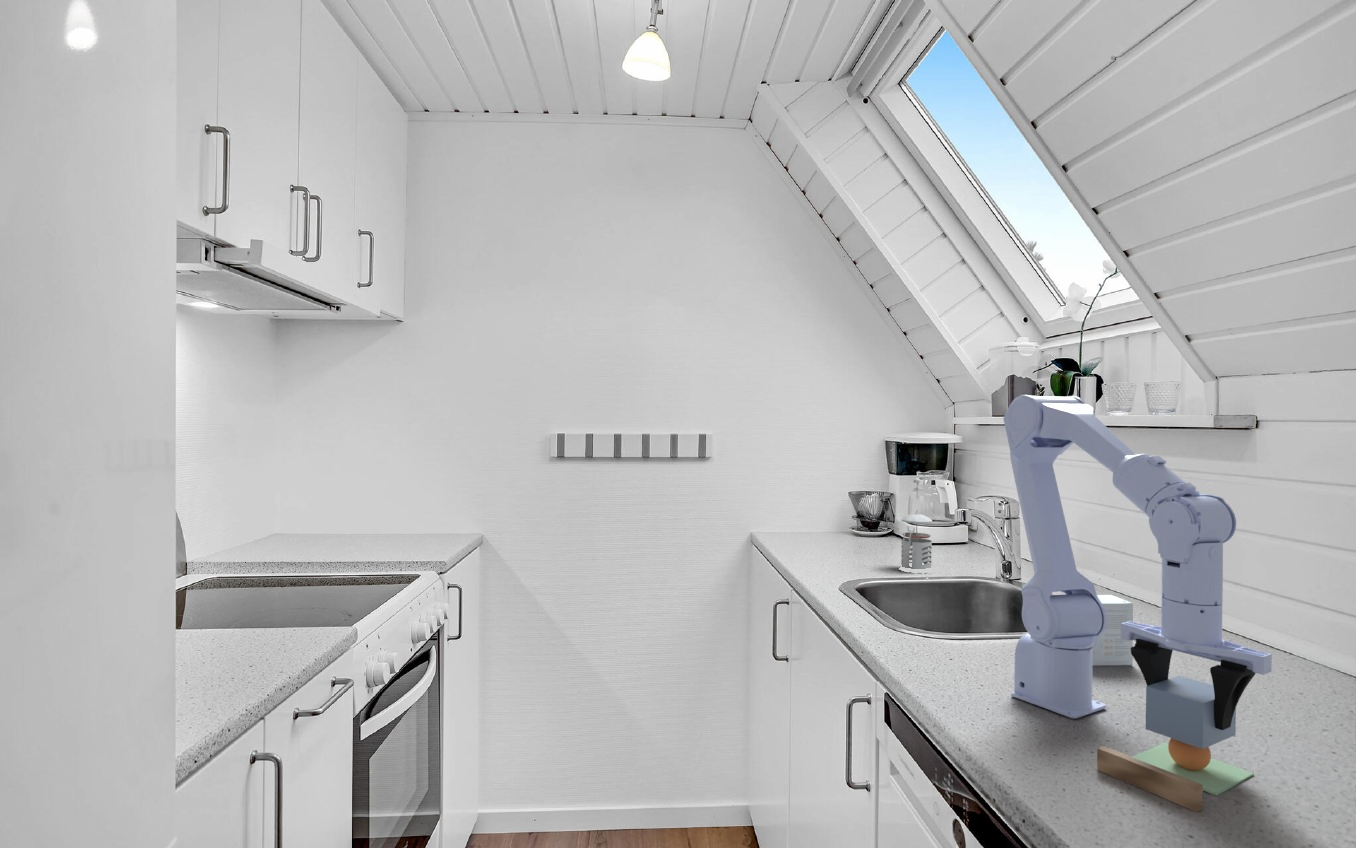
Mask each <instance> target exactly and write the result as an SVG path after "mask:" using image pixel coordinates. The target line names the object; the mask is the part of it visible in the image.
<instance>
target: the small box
mask: <svg viewBox="0 0 1356 848" xmlns="http://www.w3.org/2000/svg"><path fill="white" fill-rule="evenodd" d="M1097 596H1098V598H1099V600H1100V601H1101V603H1102V604H1103V606H1104V608H1105V611H1106V614H1107V626H1106V629H1105V631H1104V632H1103V634H1102V635H1100V636H1098V637H1097V644H1094V645H1093V666H1094V667H1095V666H1099V667H1100V666H1102V667H1103V666H1108V667H1109V666H1111V667H1112V666H1133V664H1134V661H1133V659H1134V657H1133V656H1132V654H1131V647H1134V646H1133V645H1134V644H1133V643H1134V642H1133V641H1134V640H1131V641H1129V640H1125V639H1121V623H1124V622H1128V621H1131V622H1134V604H1133V602H1131V601H1128V600H1126V599H1123V598H1120V597H1118V596H1115V595H1114V594H1113V595H1112V594H1097Z"/></svg>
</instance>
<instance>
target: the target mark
mask: <svg viewBox="0 0 1356 848" xmlns="http://www.w3.org/2000/svg"><path fill="white" fill-rule="evenodd" d="M1168 744H1169V741H1168V742H1167V741H1165V742H1162V743H1160V744H1158V745H1156V746H1154V747H1151V748H1149V749H1147V750H1145V751H1142V752H1139V753H1137V754H1135V755H1133V756H1132V757H1133V758H1136V759H1138V760H1141V761H1143V762H1146V763H1148V764H1151V765H1154V766H1156V767H1159V768H1161V769H1164V770H1166V771H1169V772H1171V773H1174V774H1177V775H1179V776H1182V777H1184V778H1187V779H1189V780H1192V781H1194V782H1197V783H1200V784H1202V785H1203V791H1204V792H1206V793H1209V794H1211V795H1214V796H1219V795H1220V794H1222V793H1223V792H1226V791H1228V790H1229V789H1231V788H1233V787H1234V786H1236V785H1238V784H1240V783H1242V782H1244V781H1245V780H1247V779H1249V778H1251V777H1253V776H1254V775H1255V773H1253V772H1251V771H1249V770H1246V769H1243V768H1240V767H1237V766H1234V765H1231V764H1228V763H1226V762H1223V761H1220V760H1219V759H1215V758H1212V757H1211V760H1210V763H1209V764H1208V765H1207V766H1206V767H1205V768H1204V769H1201V770H1188V769H1185V768H1183V767H1181V766H1180V765H1178V764H1177V763H1176V762H1175V761H1174V760H1173V759H1172V757H1171V755H1170V753H1169V750H1168ZM1203 791H1202V792H1203Z"/></svg>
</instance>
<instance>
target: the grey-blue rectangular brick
mask: <svg viewBox="0 0 1356 848" xmlns="http://www.w3.org/2000/svg"><path fill="white" fill-rule="evenodd" d="M1145 688H1146V690H1145V730H1147V731H1151V732H1153V733H1156V734H1159V735H1162V736H1165V737H1166V738H1170V739H1171V738H1172V739H1175V740H1178V741H1181V742H1184V743H1187V744H1189V745H1192V746H1195V747H1198V748H1201V749H1204V748H1207V747H1209V748H1210V747H1211V746H1213V745H1215V744H1218V743H1220V742H1222V741H1225V740H1226V739H1229V738H1232V737H1234V736H1236V723H1237V722H1236V718H1237V717H1236V715H1237V713H1236V712H1237V707H1236V708H1235V711H1234V714H1233V718H1232V722H1231V727H1229V728H1227V729H1225V730H1220V729H1217V728H1215V721H1214V711H1215V695H1214V687H1213V684H1211V683H1207V682H1203V681H1200V680H1197V679H1193V678H1189V677H1185V676H1181V675H1178V676H1175V677H1171V678H1168V680H1164V681H1161V682H1158V683H1155V684H1152V685H1148V686H1147V685H1146V687H1145Z"/></svg>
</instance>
